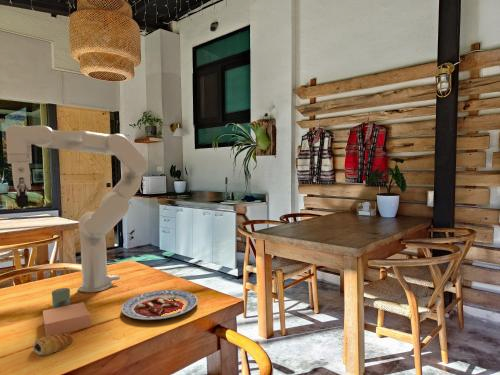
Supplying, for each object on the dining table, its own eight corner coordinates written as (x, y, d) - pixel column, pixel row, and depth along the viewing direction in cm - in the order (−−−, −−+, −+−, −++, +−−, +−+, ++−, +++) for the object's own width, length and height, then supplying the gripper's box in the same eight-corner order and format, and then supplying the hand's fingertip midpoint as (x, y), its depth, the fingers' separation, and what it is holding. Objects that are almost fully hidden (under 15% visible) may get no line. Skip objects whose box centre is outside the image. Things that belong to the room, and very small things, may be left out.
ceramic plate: (147, 333, 106) (147, 323, 105) (107, 310, 123) (107, 302, 123) (212, 307, 125) (212, 298, 124) (170, 290, 142) (169, 283, 142)
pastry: (65, 337, 104) (64, 325, 104) (77, 344, 100) (77, 331, 100) (30, 352, 96) (30, 338, 96) (43, 359, 92) (42, 345, 92)
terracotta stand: (84, 313, 120) (83, 302, 120) (90, 326, 110) (89, 314, 110) (43, 322, 114) (42, 310, 114) (45, 337, 104) (45, 324, 104)
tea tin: (69, 305, 128) (68, 286, 127) (71, 310, 123) (70, 291, 123) (52, 309, 125) (51, 290, 124) (53, 314, 120) (52, 294, 120)
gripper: (33, 158, 125) (36, 206, 126) (30, 159, 139) (32, 203, 140) (7, 158, 121) (10, 208, 122) (7, 160, 135) (9, 204, 136)
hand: (22, 205), depth 131 cm, fingers open, 9 cm apart
